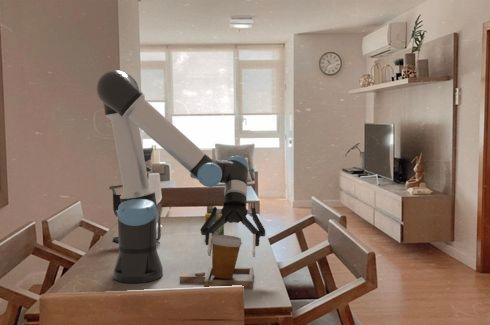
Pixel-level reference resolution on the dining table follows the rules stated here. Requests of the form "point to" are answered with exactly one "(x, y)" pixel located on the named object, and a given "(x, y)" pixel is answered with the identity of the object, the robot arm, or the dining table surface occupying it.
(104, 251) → the dining table surface
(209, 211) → the crayon box
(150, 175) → the champagne flute
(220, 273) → the disposable coffee cup
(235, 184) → the robot arm
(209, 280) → the tray
